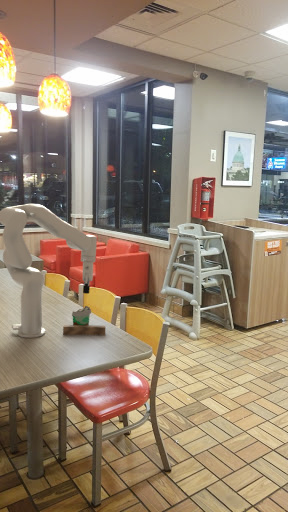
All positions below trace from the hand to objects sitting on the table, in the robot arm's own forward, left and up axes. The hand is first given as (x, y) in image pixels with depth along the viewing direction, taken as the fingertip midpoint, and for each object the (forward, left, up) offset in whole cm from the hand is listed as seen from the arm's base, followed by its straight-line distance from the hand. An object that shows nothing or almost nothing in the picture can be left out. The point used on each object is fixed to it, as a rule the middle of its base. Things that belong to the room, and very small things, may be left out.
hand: (86, 293), depth 206 cm
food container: (0, -13, -15) cm, 20 cm away
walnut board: (+1, -20, -15) cm, 25 cm away
